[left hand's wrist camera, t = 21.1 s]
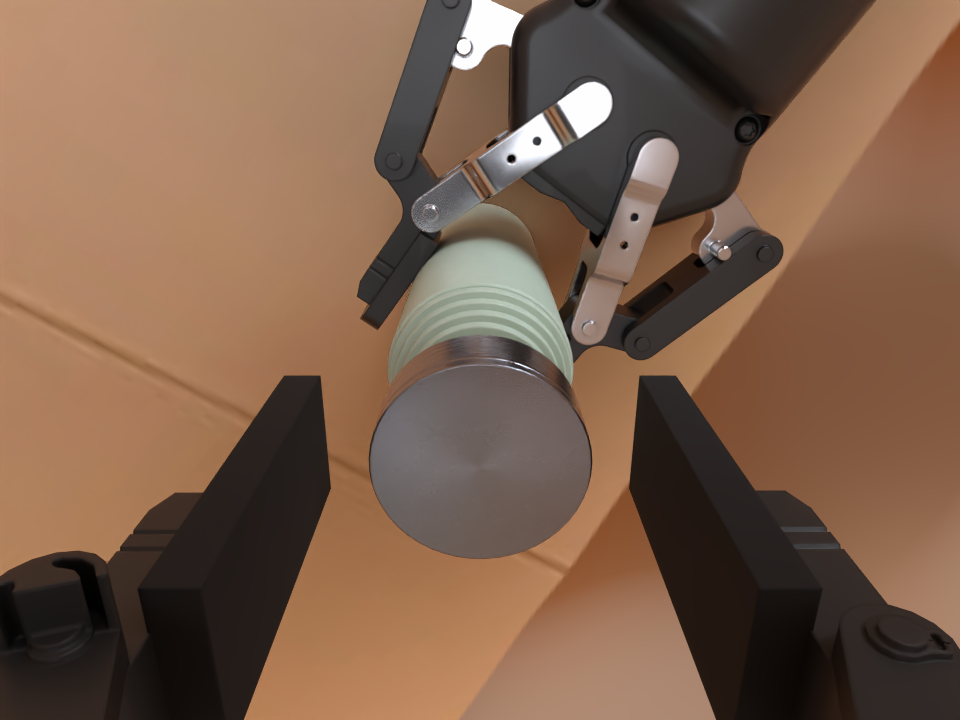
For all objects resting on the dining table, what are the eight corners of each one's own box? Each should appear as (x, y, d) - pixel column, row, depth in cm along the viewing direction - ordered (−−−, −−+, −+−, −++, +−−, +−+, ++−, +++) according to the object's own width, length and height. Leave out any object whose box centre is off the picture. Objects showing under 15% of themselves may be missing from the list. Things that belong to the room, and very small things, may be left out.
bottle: (557, 271, 30) (643, 472, 14) (468, 332, 31) (455, 582, 15) (493, 179, 29) (509, 288, 13) (402, 246, 30) (313, 424, 14)
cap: (519, 540, 16) (524, 589, 14) (348, 464, 15) (333, 507, 14) (618, 389, 15) (635, 424, 13) (434, 297, 14) (429, 323, 12)
